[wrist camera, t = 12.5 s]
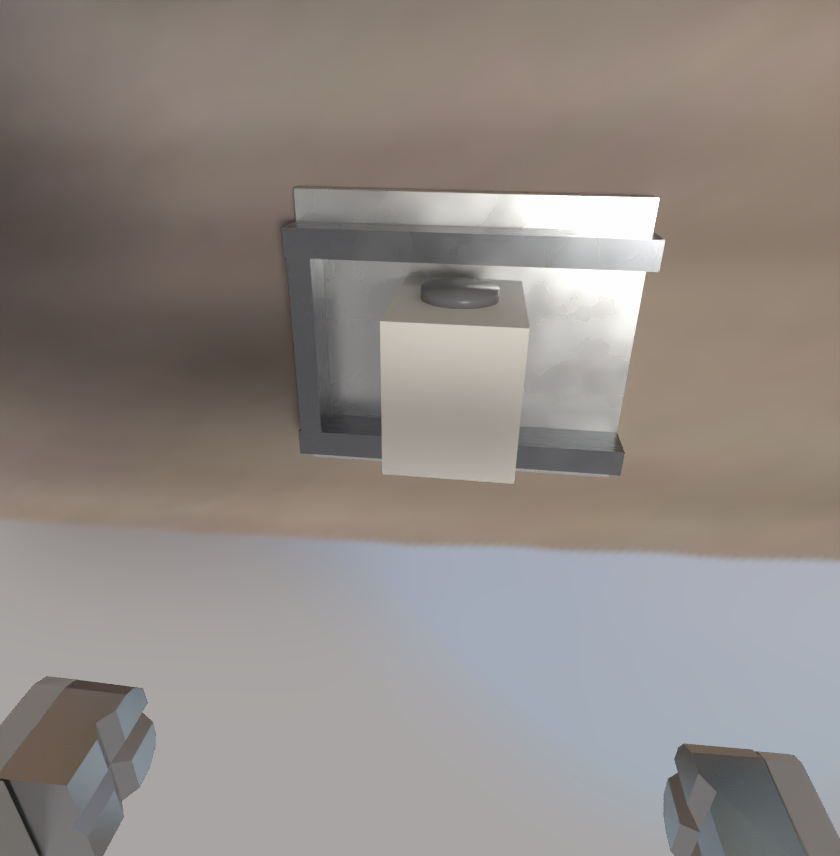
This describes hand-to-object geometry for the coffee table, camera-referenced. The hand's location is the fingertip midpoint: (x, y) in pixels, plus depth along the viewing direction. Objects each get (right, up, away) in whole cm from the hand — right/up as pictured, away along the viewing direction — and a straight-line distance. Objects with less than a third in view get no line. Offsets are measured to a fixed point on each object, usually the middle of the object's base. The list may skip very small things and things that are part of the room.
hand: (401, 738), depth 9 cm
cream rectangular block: (+2, +9, +18) cm, 20 cm away
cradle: (+2, +9, +19) cm, 21 cm away
